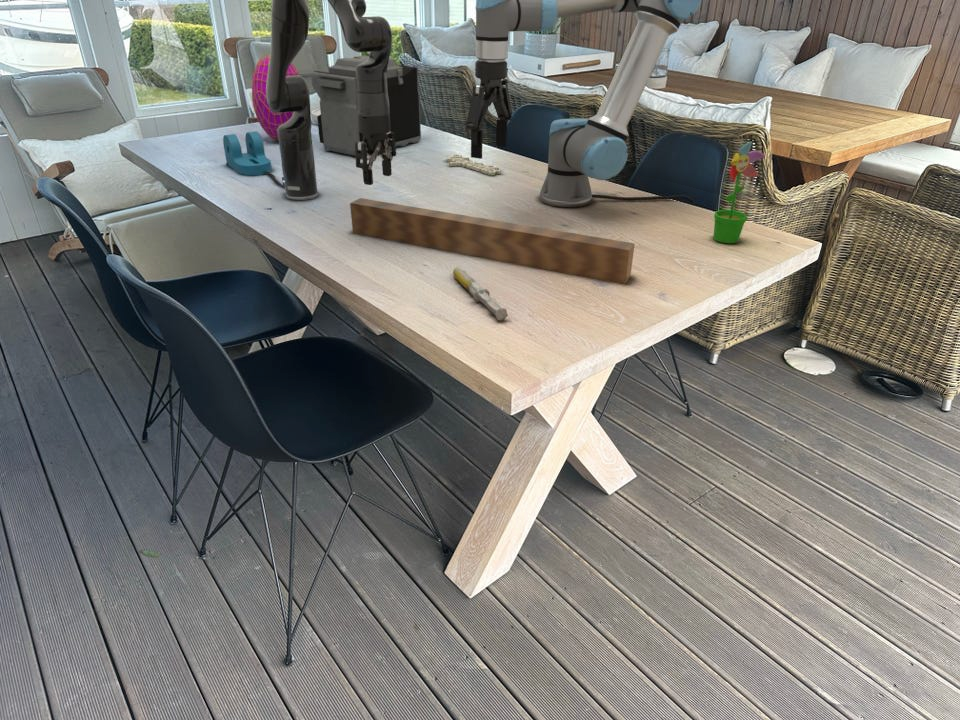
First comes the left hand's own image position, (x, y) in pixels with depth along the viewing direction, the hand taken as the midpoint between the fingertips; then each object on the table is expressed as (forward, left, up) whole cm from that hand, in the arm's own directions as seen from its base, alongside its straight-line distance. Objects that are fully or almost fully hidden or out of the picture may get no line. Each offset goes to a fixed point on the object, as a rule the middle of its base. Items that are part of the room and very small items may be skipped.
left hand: (378, 179), depth 169 cm
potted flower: (+59, +66, -14) cm, 90 cm away
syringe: (+44, -5, -14) cm, 47 cm away
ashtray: (-127, +63, -14) cm, 143 cm away
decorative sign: (-36, +60, -14) cm, 72 cm away
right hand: (+14, +24, +6) cm, 29 cm away
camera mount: (-80, +1, -14) cm, 81 cm away
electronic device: (-82, +50, -14) cm, 97 cm away
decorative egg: (-110, +29, -14) cm, 115 cm away
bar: (+26, +12, -14) cm, 32 cm away
